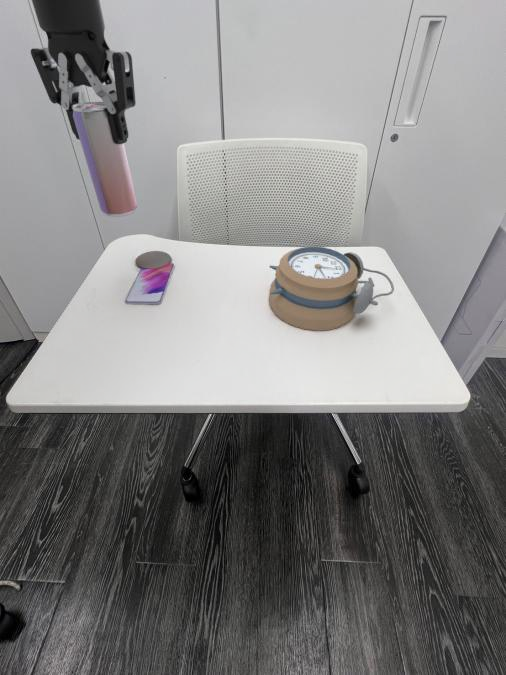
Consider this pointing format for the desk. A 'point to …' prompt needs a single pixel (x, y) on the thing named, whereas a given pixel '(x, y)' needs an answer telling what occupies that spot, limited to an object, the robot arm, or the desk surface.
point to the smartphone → (150, 286)
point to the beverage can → (105, 159)
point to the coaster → (153, 260)
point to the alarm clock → (320, 288)
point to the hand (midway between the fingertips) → (102, 140)
